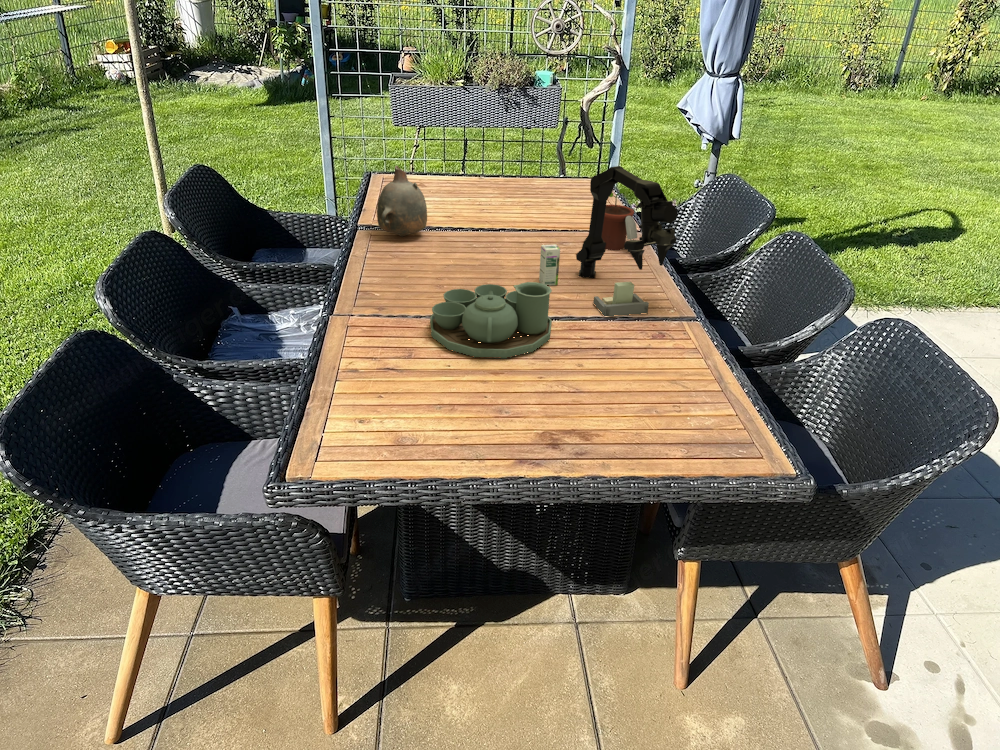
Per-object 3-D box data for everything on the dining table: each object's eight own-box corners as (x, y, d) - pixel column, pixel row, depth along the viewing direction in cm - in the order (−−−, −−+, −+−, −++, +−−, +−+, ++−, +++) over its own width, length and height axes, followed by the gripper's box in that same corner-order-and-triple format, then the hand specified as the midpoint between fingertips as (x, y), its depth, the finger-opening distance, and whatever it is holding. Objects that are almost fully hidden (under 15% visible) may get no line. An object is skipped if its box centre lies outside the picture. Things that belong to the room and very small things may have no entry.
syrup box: (543, 286, 261) (546, 249, 254) (538, 280, 266) (541, 244, 259) (557, 285, 263) (560, 248, 256) (552, 279, 268) (555, 243, 260)
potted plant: (630, 240, 310) (638, 184, 297) (636, 258, 291) (645, 199, 279) (590, 238, 310) (596, 182, 298) (594, 256, 292) (601, 196, 279)
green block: (611, 309, 246) (614, 282, 241) (627, 307, 247) (630, 281, 242) (614, 312, 244) (618, 286, 239) (630, 311, 245) (634, 285, 240)
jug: (424, 246, 294) (422, 175, 279) (373, 244, 294) (369, 172, 279) (430, 228, 315) (429, 160, 300) (383, 226, 315) (379, 158, 300)
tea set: (522, 300, 251) (524, 256, 242) (571, 350, 219) (576, 302, 210) (415, 313, 238) (413, 268, 229) (450, 369, 206) (450, 318, 197)
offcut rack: (592, 303, 249) (593, 293, 247) (633, 300, 253) (635, 290, 251) (604, 317, 240) (606, 306, 238) (647, 313, 244) (648, 303, 242)
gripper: (644, 226, 224) (645, 274, 229) (687, 218, 232) (688, 265, 237) (622, 224, 233) (624, 271, 238) (664, 217, 242) (665, 262, 246)
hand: (651, 267), depth 240 cm, fingers open, 9 cm apart
